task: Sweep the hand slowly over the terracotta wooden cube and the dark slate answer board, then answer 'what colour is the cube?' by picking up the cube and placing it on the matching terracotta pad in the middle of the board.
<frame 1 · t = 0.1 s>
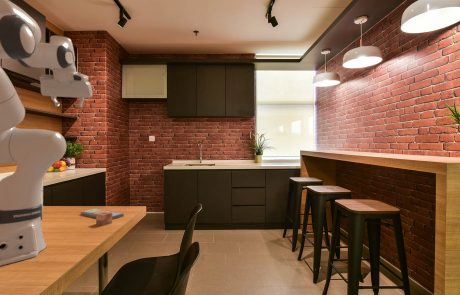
hand: (69, 106, 119), 52 cm above the table, tool tilted 20°, fingers open, 8 cm apart
answer board: (101, 215, 126), on the table
cylindrical container: (33, 218, 120), on the table
terracotta cube: (104, 223, 113), on the table
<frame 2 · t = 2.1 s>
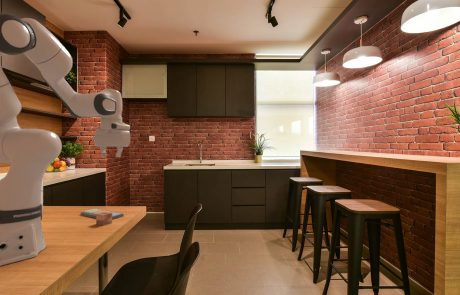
hand: (111, 156, 116), 29 cm above the table, tool pointing down, fingers open, 8 cm apart
nothing on the table moved.
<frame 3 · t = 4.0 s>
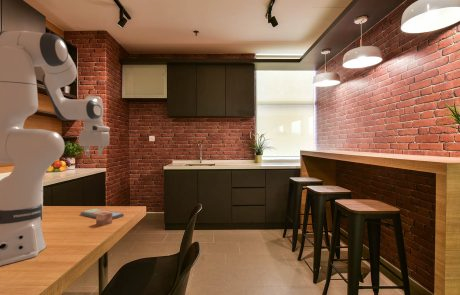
hand: (93, 155, 131), 29 cm above the table, tool pointing down, fingers open, 8 cm apart
nothing on the table moved.
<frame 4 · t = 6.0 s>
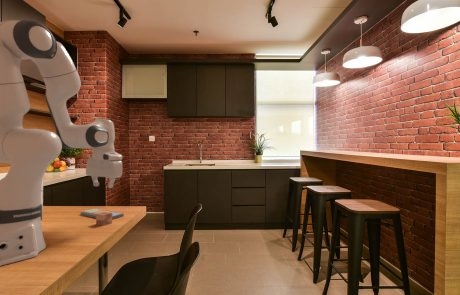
hand: (103, 186, 114), 16 cm above the table, tool pointing down, fingers open, 8 cm apart
nothing on the table moved.
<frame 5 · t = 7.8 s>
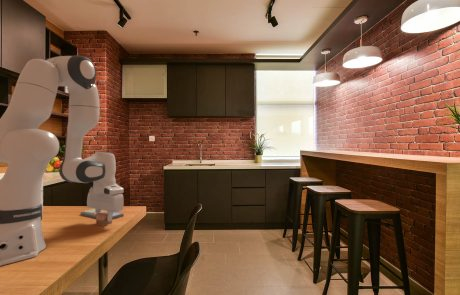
hand: (104, 219, 113), 2 cm above the table, tool pointing down, fingers closed on terracotta cube, 5 cm apart
terracotta cube: (104, 223, 113), on the table, touching gripper
everything else where it was.
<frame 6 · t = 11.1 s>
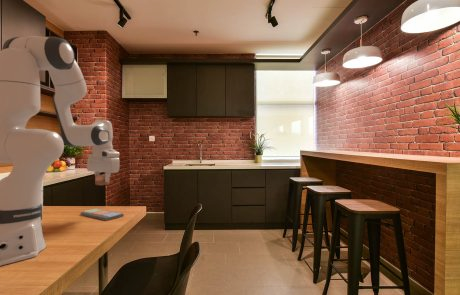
hand: (102, 181, 126), 17 cm above the table, tool pointing down, fingers closed on terracotta cube, 4 cm apart
terracotta cube: (102, 184, 126), point 15 cm above the table, touching gripper
everything else where it was.
when the fingers open (5 cm above the table, at t = 13.9 s): terracotta cube drops 1 cm, resting on answer board.
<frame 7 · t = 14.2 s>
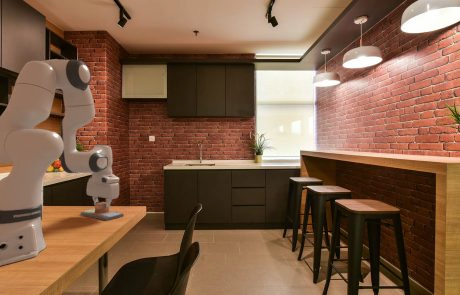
hand: (101, 206, 126), 5 cm above the table, tool pointing down, fingers open, 7 cm apart
terracotta cube: (101, 212, 126), point 1 cm above the table, touching answer board
everything else where it was.
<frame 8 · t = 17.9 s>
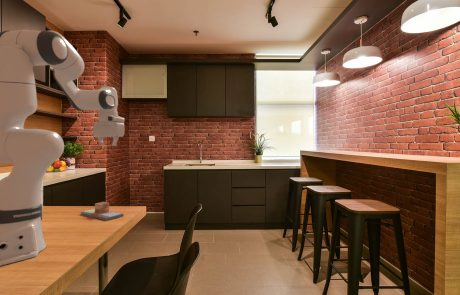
hand: (107, 145, 132), 34 cm above the table, tool pointing down, fingers open, 8 cm apart
nothing on the table moved.
at the end: terracotta cube 0.0 cm off-centre on the answer board, point 1.5 cm above the answer board's base; terracotta cube tilted 0°; the gripper is holding nothing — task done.
